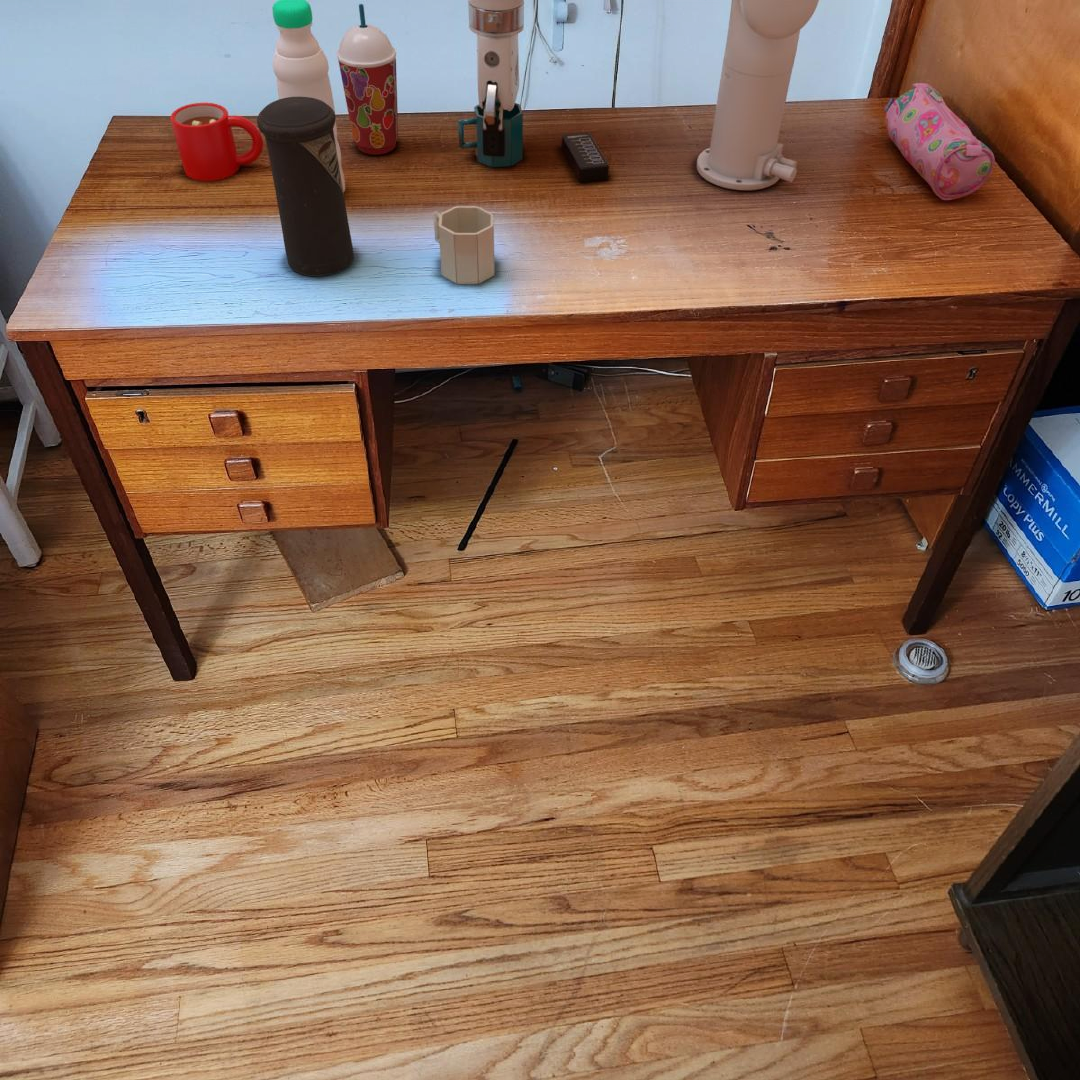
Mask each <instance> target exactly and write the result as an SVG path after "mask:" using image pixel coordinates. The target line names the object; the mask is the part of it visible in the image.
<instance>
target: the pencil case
mask: <svg viewBox="0 0 1080 1080" xmlns="http://www.w3.org/2000/svg"><path fill="white" fill-rule="evenodd" d="M912 87H915V88H913V89H910V90H908V91H907V92H905V93H903V94H902V95H900V96H899V97H898V98H896V99H895V98H894V97H893V96H892V97H890V99H889V100H888V102H887V103H886V105H885V106H884V107H883V109H884V111H885V113H886V114H885V116H884V127H885V130H886V133H887V136H888V137H889V138H890V140H891V141H892V142H893V144H894V145H895V147H897V149H898V150H899V152H900V153H901V155H902V156H903V157H904V159H905V160H906V161H907V163H909V165H910V166H911V167H912V168H913V169H914V170H915V171H916V172H917V173H918V174H919V176H920V177H921V178H922V179H923V180H924V181H925V182H926V183H927V184H928V185H929V187H930V188H931V190H932V191H933V193H934V194H935V195H936V196H937V197H938V198H939V199H940V200H943V201H952V200H956V199H961V198H965V197H966V196H969V195H971V194H973V193H975V192H976V191H978V189H980V188H981V187H982V186H983V185H984V184H985V183H986V182H987V181H988V179H989V178H990V177H991V174H992V173H993V170H994V168H995V161H996V159H995V155H994V153H993V151H992V149H991V148H989V147H988V146H987V145H986V144H985V143H983V142H982V141H981V140H979V139H977V137H976V136H975V135H974V134H973V133H972V131H971V129H970V127H968V125H967V124H966V123H965V122H964V121H963V120H962V119H961V118H960V117H959V116H957V114H955V113H954V112H953V111H952V110H951V108H949V107H948V106H947V104H946V103H945V101H944V99H943V98H944V97H943V96H942V95H941V94H940V92H939V91H938V90H936V89H935V88H934V87H933V86H931V85H930V84H929V83H925V82H919V83H918V82H916V83H913V84H912Z"/></svg>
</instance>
